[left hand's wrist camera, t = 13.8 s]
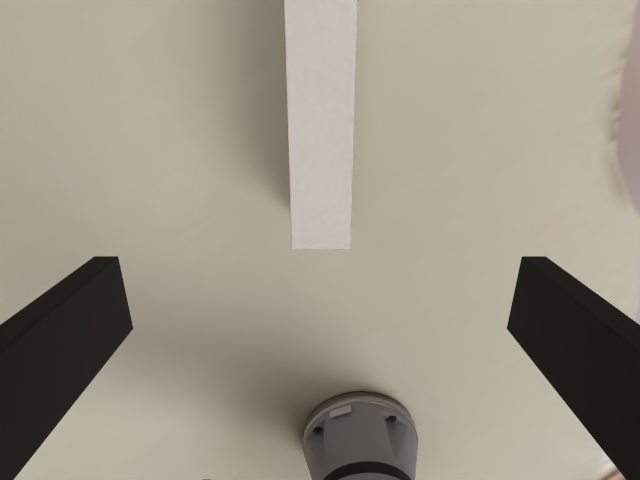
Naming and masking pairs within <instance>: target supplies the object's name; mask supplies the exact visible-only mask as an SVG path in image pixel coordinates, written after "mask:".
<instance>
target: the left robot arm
mask: <svg viewBox="0 0 640 480" xmlns="http://www.w3.org/2000/svg"><path fill="white" fill-rule="evenodd" d="M132 329H133V326H132V321H131V316H130V311H129V307H128V302H127V297H126V292H125V288H124V283H123V278H122V273H121V268H120V264H119V259H118V257H93V258H92V259H90V260H89V261H88V262H86V263H85V264H84V265H82V266H81V267H79V268H78V269H77V270H75V271H74V272H73V273H71V274H70V275H68V276H67V277H66V278H64V279H63V280H62V281H60V282H59V283H57V284H56V285H55V286H53V287H52V288H51V289H49V290H48V291H46V292H45V293H44V294H42V295H41V296H40V297H38V298H37V299H35V300H34V301H33V302H31V303H30V304H29V305H27V306H26V307H24V308H23V309H22V310H20V311H19V312H18V313H16V314H15V315H13V316H12V317H11V318H9V319H8V320H7V321H5V322H4V323H3V324H1V325H0V480H14V478H15V477H16V476H17V475H18V473H19V472H20V471H21V470H22V468H23V467H24V466H25V464H26V463H27V462H28V461H29V459H30V458H31V457H32V456H33V454H34V453H35V452H36V451H37V449H38V448H39V447H40V446H41V444H42V443H43V442H44V440H45V439H46V438H47V437H48V435H49V434H50V433H51V432H52V430H53V429H54V428H55V427H56V425H57V424H58V423H59V422H60V420H61V419H62V418H63V416H64V415H65V414H66V413H67V411H68V410H69V409H70V408H71V406H72V405H73V404H74V403H75V401H76V400H77V399H78V398H79V396H80V395H81V394H82V392H83V391H84V390H85V389H86V387H87V386H88V385H89V384H90V382H91V381H92V380H93V379H94V377H95V376H96V375H97V374H98V372H99V371H100V370H101V368H102V367H103V366H104V365H105V363H106V362H107V361H108V360H109V358H110V357H111V356H112V355H113V353H114V352H115V351H116V350H117V348H118V347H119V346H120V344H121V343H122V342H123V341H124V339H125V338H126V337H127V336H128V334H129V333H130V332H131V331H132ZM507 329H508V331H509V332H510V333H511V334H512V336H513V337H514V338H515V339H516V341H517V342H518V343H519V344H520V346H521V347H522V348H523V350H524V351H525V352H526V353H527V355H528V356H529V357H530V358H531V360H532V361H533V362H534V363H535V365H536V366H537V367H538V368H539V370H540V371H541V372H542V374H543V375H544V376H545V377H546V379H547V380H548V381H549V382H550V384H551V385H552V386H553V387H554V389H555V390H556V391H557V392H558V394H559V395H560V396H561V398H562V399H563V400H564V401H565V403H566V404H567V405H568V406H569V408H570V409H571V410H572V411H573V413H574V414H575V415H576V416H577V418H578V419H579V420H580V422H581V423H582V424H583V425H584V427H585V428H586V429H587V430H588V432H589V433H590V434H591V435H592V437H593V438H594V439H595V440H596V442H597V443H598V444H599V446H600V447H601V448H602V449H603V451H604V452H605V453H606V454H607V456H608V457H609V458H610V459H611V461H612V462H613V463H614V464H615V466H616V467H617V468H618V470H619V471H620V472H621V473H622V475H623V476H624V477H625V478H626V480H640V325H639V324H637V323H636V322H635V321H633V320H632V319H631V318H629V317H628V316H627V315H625V314H624V313H622V312H621V311H620V310H618V309H617V308H616V307H614V306H613V305H611V304H610V303H609V302H607V301H606V300H605V299H603V298H602V297H600V296H599V295H598V294H596V293H595V292H594V291H592V290H591V289H589V288H588V287H587V286H585V285H584V284H583V283H581V282H580V281H578V280H577V279H576V278H574V277H573V276H572V275H570V274H569V273H567V272H566V271H565V270H563V269H562V268H561V267H559V266H558V265H556V264H555V263H554V262H552V261H551V260H550V259H548V258H547V257H522V259H521V264H520V268H519V273H518V278H517V283H516V288H515V292H514V297H513V302H512V307H511V311H510V316H509V321H508V326H507ZM417 449H418V437H417V433H416V430H415V426H414V423H413V420H412V418H411V416H410V414H409V413H408V411H407V410H406V409H405V408H404V407H403V406H402V405H400V404H399V403H398V402H396V401H394V400H393V399H391V398H389V397H386V396H383V395H380V394H375V393H369V392H354V393H347V394H343V395H339V396H336V397H334V398H331V399H329V400H327V401H326V402H324V403H322V404H321V405H320V406H318V407H317V408H316V409H315V410H314V411H313V412H312V414H311V415H310V416H309V418H308V420H307V422H306V424H305V427H304V435H303V451H304V455H305V458H306V462H307V465H308V468H309V471H310V474H311V477H312V480H415V472H416V461H417ZM203 480H209V479H203Z"/></svg>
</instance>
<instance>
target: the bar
mask: <svg viewBox="0 0 640 480" xmlns="http://www.w3.org/2000/svg"><path fill="white" fill-rule="evenodd" d="M357 2H358V0H284V16H285V48H286V80H287V113H288V145H289V177H290V210H291V242H292V249H350V237H351V204H352V170H353V136H354V103H355V69H356V35H357Z"/></svg>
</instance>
